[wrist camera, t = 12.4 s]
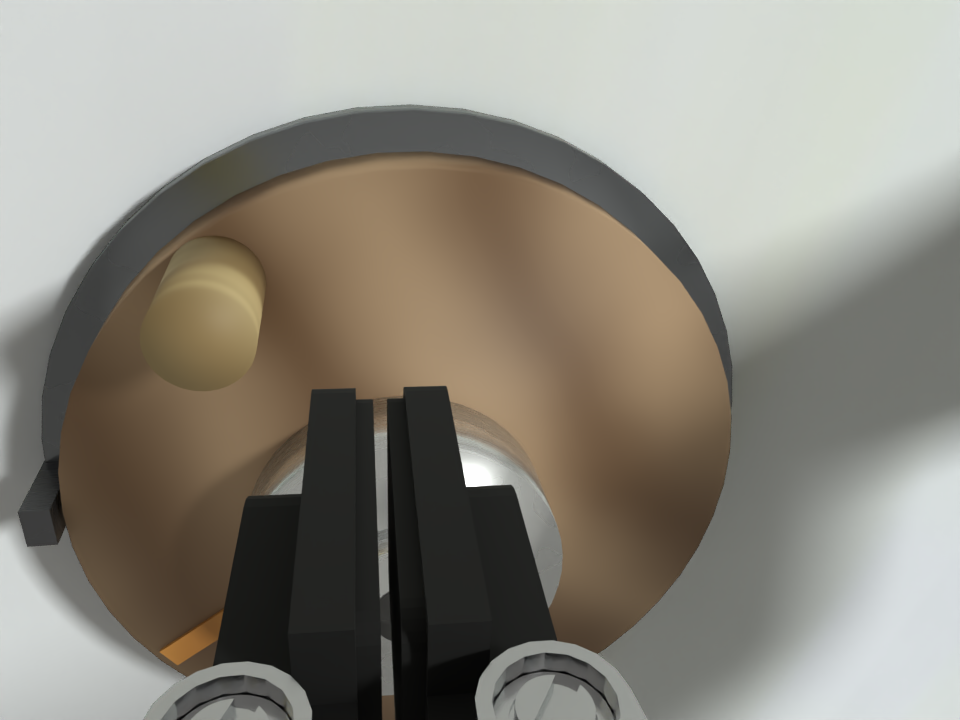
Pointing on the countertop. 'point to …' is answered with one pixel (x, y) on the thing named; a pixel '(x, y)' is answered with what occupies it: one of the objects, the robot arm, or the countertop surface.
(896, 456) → the countertop surface
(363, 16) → the countertop surface
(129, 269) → the turntable base
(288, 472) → the cover
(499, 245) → the turntable
